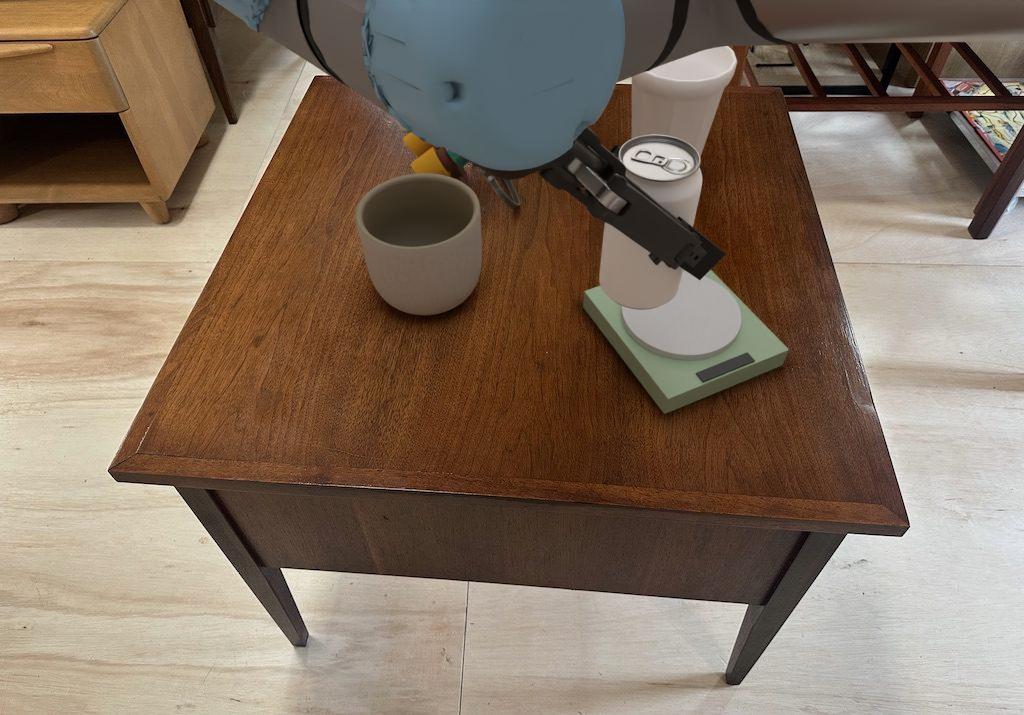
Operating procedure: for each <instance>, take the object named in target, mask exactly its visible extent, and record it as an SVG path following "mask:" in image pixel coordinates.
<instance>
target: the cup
mask: <svg viewBox="0 0 1024 715" xmlns="http://www.w3.org/2000/svg"><path fill="white" fill-rule="evenodd" d="M737 65H738V59H737V56H736V53H735V51H734V50H733V49H732V48H731V46H723V47H716V48H711V49H707V50H703V51H700V52H697V53H694V54H692V55H689V56H686V57H683V58H680V59H678V60H675V61H672V62H669V63H667V64H664V65H661V66H658V67H656V68H654V69H652V70H650V71H646V72H643V73H640V74H638V75H635V76H633V77H631V130H630V131H631V138H630V140H631V139H633V138H635V137H638V136H643V135H651V134H659V135H668V136H673V137H676V138H679V139H682V140H684V141H686V142H688V143H689V144H691V145H692V146H693V147H694V148H695V149H696V150H697V151H698V152H699V154H700V157H701V156H702V154H703V151H704V148H705V145H706V142H707V139H708V136H709V134H710V130H711V128H712V125H713V122H714V119H715V117H716V114H717V111H718V108H719V106H720V102H721V99H722V96H723V93H724V90H725V88H726V87H727V86H728V85H729V84H730V82H731V80H732V79H733V77H734V76H735V72H736V68H737ZM701 158H702V157H701Z"/></svg>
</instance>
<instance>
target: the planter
mask: <svg viewBox="0 0 1024 715" xmlns="http://www.w3.org/2000/svg"><path fill="white" fill-rule="evenodd" d="M470 187H471V186H470ZM470 187H468V186H467V185H466V184H464V183H463V182H461V181H459V180H457V179H454V178H451V177H448V176H444V175H439V174H430V173H418V174H416V173H410V174H409V173H408V174H403V175H400V176H395V177H393V178H390V179H387V180H385V181H383V182H381V183H378V184H377V185H375V186H374V187H372V188H371V189H370V190H368V191H367V192H366V193H365V194H364V195H363V197H362V198H361V199H360V201H359V202H358V204H357V205H356V206H357V207H356V209H355V214H354V216H355V223H356V228H357V233H358V236H359V239H360V245H361V249H362V254H363V257H364V262H365V264H366V268H367V272H368V275H369V278H370V280H371V282H372V284H373V287H374V288H375V290H376V291H377V293H378V294H379V296H380V297H381V298H382V299H383V300H384V301H385V302H386V303H387V304H388V305H390V306H391V307H393V308H394V309H396V310H398V311H401V312H403V313H407V314H410V315H415V316H416V315H417V316H433V315H439V314H443V313H446V312H448V311H451V310H453V309H455V308H456V307H458V306H460V305H461V304H463V303H464V302H465V301H466V300H467V299H468V298H469V297H470V295H472V293H473V291H474V290H475V288H476V286H477V284H478V282H479V279H480V276H481V272H482V264H483V238H482V217H481V204H480V201H479V197H478V196H477V194H476V192H475V191H474V190H473V189H472V187H471V188H470Z"/></svg>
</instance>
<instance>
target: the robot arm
mask: <svg viewBox="0 0 1024 715" xmlns="http://www.w3.org/2000/svg"><path fill="white" fill-rule="evenodd" d="M213 2H215V3H216V4H218V5H219V6H221V7H222V8H223V9H225V10H227V11H228V12H230V13H231V14H233V15H234V16H235V17H237V18H239V19H240V20H241V21H243V22H244V23H245V24H246V26H247V27H248V29H251V30H253V31H255V32H256V33H257V34H258V33H262V34H263V35H264V36H266V37H268V38H270V39H271V40H273V41H275V42H276V43H278V44H279V45H281V46H282V47H284V48H285V49H287V50H289V51H290V52H292V53H293V54H295V55H296V56H298V57H300V58H302V59H303V60H305V61H306V62H308V63H310V64H311V65H312V66H313V67H316V68H317V69H319V70H320V71H321V72H322V73H325V74H326V75H328V76H329V77H331V78H332V79H334V80H335V81H337V82H339V83H341V84H343V85H344V86H346V87H348V88H349V89H351V90H353V91H355V92H356V93H357V94H359V95H360V96H362V97H363V98H364V99H366V100H368V101H369V102H370V103H372V104H373V105H375V106H377V107H378V108H379V109H381V110H382V111H383V112H385V113H387V114H388V115H389V116H390V117H392V118H393V119H395V120H396V121H395V123H396V126H397V128H398V129H399V130H400V131H401V132H402V133H404V134H409V133H410V132H412V133H413V134H414V135H416V136H417V137H419V138H420V139H421V140H422V141H424V142H427V143H431V144H432V145H434V146H435V147H436V148H437V147H444V148H446V149H448V150H450V151H451V152H453V153H456V154H458V155H460V156H461V157H463V158H464V159H466V160H468V161H469V162H468V163H471V164H472V165H473V164H474V165H476V166H477V167H476V166H475V167H476V168H479V169H480V170H484V171H485V172H487V173H488V174H490V175H492V176H494V178H495V179H499V180H503V181H504V180H511V181H513V180H519V179H522V178H525V177H528V176H530V175H532V174H534V173H537V174H539V176H540V177H541V178H542V179H544V181H545V182H547V183H548V184H549V185H551V186H552V187H553V188H555V189H557V190H561V191H563V190H564V191H565V192H567V193H568V194H569V195H571V196H572V197H573V198H575V200H577V201H579V203H581V204H582V205H583V206H585V207H586V210H587V211H588V213H589V214H590V215H591V216H592V217H593V218H594V219H596V218H597V219H598V220H600V221H602V222H604V223H605V222H606V223H608V224H609V225H611V226H613V227H614V228H616V229H617V230H619V231H620V232H622V233H623V234H624V235H626V236H627V237H629V238H630V239H632V240H633V241H634V242H636V243H637V244H639V245H640V246H642V247H643V248H644V249H646V250H647V251H649V252H650V254H649V255H648V256H649V258H650V259H651V260H652V262H654V264H655V265H658V264H659V263H660V262H661V261H663V262H664V263H665V264H666V265H667V266H668V267H669V268H672V269H673V270H676V269H677V268H678V267H681V268H682V269H684V270H685V271H687V272H688V273H690V274H691V275H693V276H694V277H696V278H697V279H698V280H701V279H702V278H703V277H704V276H705V275H706V274H707V273H708V272H709V271H710V270H712V269H713V268H714V267H715V266H716V265H717V264H718V263H719V262H720V260H722V258H724V257H725V256H726V252H724V251H723V249H721V248H720V247H719V246H718V245H717V244H715V243H714V242H713V241H711V240H710V239H709V238H708V237H707V236H705V234H703V233H702V232H700V231H699V230H697V229H696V228H695V227H694V226H693V227H692V226H691V225H690V224H688V223H687V222H686V221H685V220H683V219H682V218H681V217H678V218H676V217H675V216H674V215H672V214H671V213H670V212H669V211H668V210H666V209H665V208H664V207H663V206H662V205H660V204H659V203H658V202H657V201H656V200H654V199H653V198H652V197H651V196H650V195H648V194H647V193H646V192H645V191H644V190H642V189H641V188H640V187H639V186H638V185H636V184H635V183H634V182H633V181H632V180H630V179H629V178H628V177H627V176H626V175H625V174H626V167H625V165H624V164H623V163H622V162H621V161H620V160H619V159H618V154H619V150H620V148H621V146H619V145H618V144H616V143H615V144H614V145H613V146H612V147H611V149H610V150H609V149H608V148H606V146H604V145H603V144H602V142H601V138H600V137H599V136H598V135H597V134H596V133H595V132H594V131H593V130H592V129H591V128H590V126H593V125H595V124H596V122H597V121H598V120H599V119H600V117H601V116H602V115H603V113H604V111H605V109H606V108H607V106H608V104H609V103H610V100H611V98H612V96H613V93H614V91H615V88H616V85H617V83H619V82H622V81H625V80H627V79H631V78H632V77H633V76H635V75H638V74H640V73H643V72H646V71H650V70H652V69H654V68H656V67H658V66H661V65H664V64H667V63H669V62H672V61H675V60H678V59H680V58H683V57H686V56H689V55H692V54H694V53H697V52H700V51H703V50H707V49H711V48H716V47H723V46H728V47H746V46H747V47H748V46H749V47H754V46H755V47H756V46H758V47H759V46H760V47H761V46H794V45H801V44H805V45H806V44H871V43H872V44H880V43H881V44H883V43H885V44H888V43H889V44H890V43H893V44H894V43H898V44H899V43H970V42H971V43H978V42H979V43H980V42H981V43H982V42H984V43H985V42H989V43H990V42H1024V0H213Z"/></svg>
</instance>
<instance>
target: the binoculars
mask: <svg viewBox="0 0 1024 715" xmlns="http://www.w3.org/2000/svg"><path fill="white" fill-rule="evenodd" d="M402 140H403V143H404V144H405V146H406V147H407V148H408V150H410V151H411V153H413V154H414V155H415V156H417V158H416V159H414V160H413V161H411V163H410V166H411V168H412V170H413V172H414V174H418V173H430V174H439V175H444V176H448V177H451V178H454V179H457V180H459V181H461V182H463V183H464V184H466V185H467V186H468V187H470V188H471V189H472V187H471V185H470V182H471V180H470V177H469V176H468V173H467V171H466V170H465V166H466V165H467V164H468V163H470V162H469V161H468V160H466V159H464V158H463V157H461V156H460V155H458V154H456V153H453V152H451V151H450V150H448V149H446V148H444V147H437V148H436V147H435V146H434V145H432V144H431V143H427V142H424V141H422V140H421V139H420V138H419V137H417V136H416V135H414V134H413V133H412V132H410V133H407V134H406V135H404V137H403V138H402ZM471 168H472V172H473V174H474V176H475V177H477V178H478V177H481V176H482V175H483V177H484V178H485V179H486V181H487V182H488V184H489V185H490V187H491V188H492V190H493V191H494V192H495V194H496V195H497V196H498V198H499V199H500V200H501V201H502V202H503V203H504V204H505V205H506V207H508V208H510V209H512V210H515V209H516V208H517V207H519V206H520V205H521V199H520V196H519V194H518V191H517V189H516V187H515V185H514V182H513V180H503V181H504V184H505V185H506V187H507V189H508V191H509V194H510V196H511V198H512V199H511V198H510V197H509V196H508V194H507V193H506V192H505V191H504V189H503V188H502V187H501V186H500V184H499V182H498V181H497V178H496V177H494V176H492V175H490V174H488V173H487V172H485V171H484V170H482V169H480V171H479V172H478V171H477V168H478V167H477V166H476V165H474V164H472V167H471Z"/></svg>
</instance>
